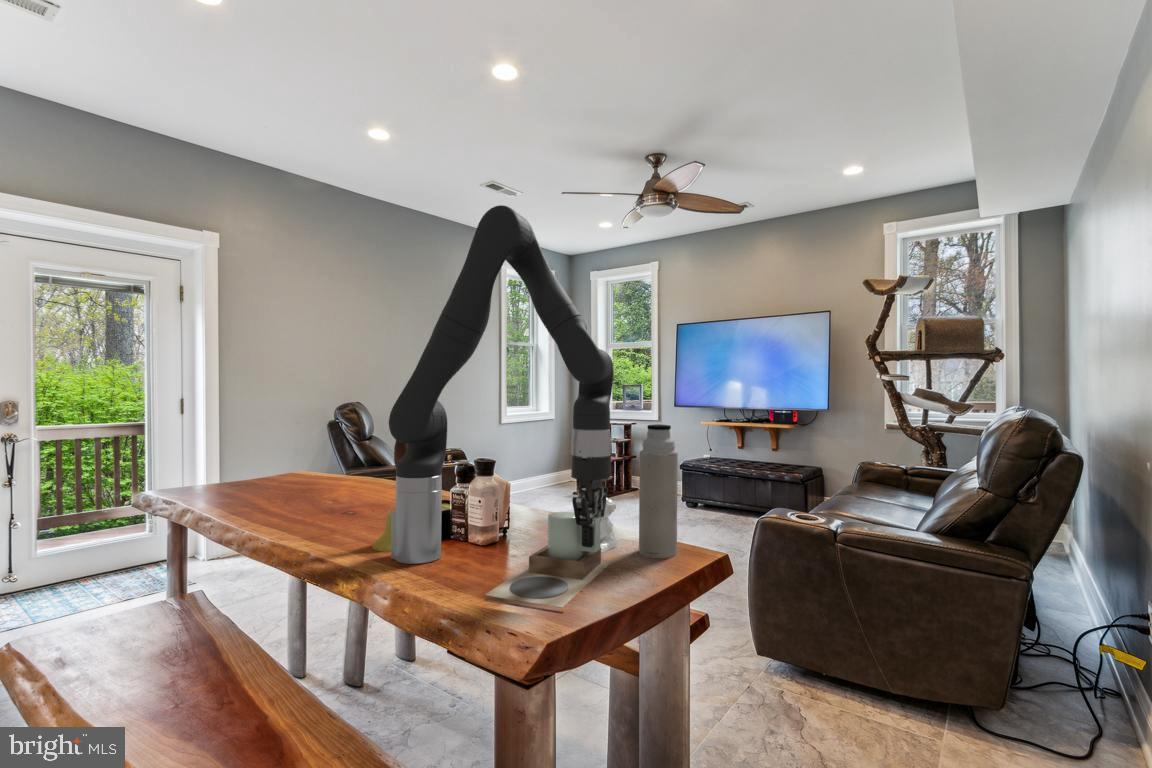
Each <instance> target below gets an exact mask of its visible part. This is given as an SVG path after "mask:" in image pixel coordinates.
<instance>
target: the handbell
mask: <svg viewBox="0 0 1152 768" xmlns="http://www.w3.org/2000/svg"><path fill="white" fill-rule="evenodd" d="M407 447H408V443H402V442H399V441H397V440H396V439H395V444H394V447H393V449H394V451H393V454H394V455H393V461H394V466H395V467H396V464H397V462H398V461H399V460H400V459H401V458H402V457H403V456H404V454H405V453H406V451H407ZM394 511H396V506H395V507H394V508H393V510H391V511H389V512H388V513H387V514H386V515H385V516H386V517H385V529H384V531H383V533H382V535H381V536H380V537H379V538H378V539H377V540H376V541H374V542H373V544H372V549H373V550H374V551H377V550H378V551H379V552H382V551H383V552H384V553H391V514H392V512H394ZM378 551H377V552H378Z"/></svg>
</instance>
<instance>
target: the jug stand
mask: <svg viewBox="0 0 1152 768" xmlns="http://www.w3.org/2000/svg"><path fill="white" fill-rule="evenodd" d="M609 565H610V563H604V562H602V553H601V548H600V550H598V551H597V552H588V551H584V557H583V558H582V559H581V560H579V561H575V560H567V559H559V558H551V557H548V544H547V545H545V546H544V547H542V548H541V549H539V550H537V551H536V552H534V553H532V554H530V555H529V556H528V566H526V567H525V568H523V569H522V570H521V571H519V572H517V573H515V574H514V575H513V576H511V577H510V578H508V579H507V580H506V581H504V582H502V583H500V584H499V585H497V586H496V587H494V588H493V589H491V590H490V591H488V592H487V593H485V594H484V596H487V597H494V598H500V599H505V600H511V601H519V602H524V603H529V604H537V605H543V606H548V607H549V606H550V607H555V608H564V607H565V606H566V605H567V604H568V603H569V602H570V601H571V600H572V599H573V598H574V597H575V596H577V594H579V593H580V592H581V591H582V590H583V589H584V588H586V586H588V585H589V583H590V582H592V581H593V580H594V579H595V578H596V577H597V576H598V575H599V574H600V573H602V572H603V571H604V570H605V569H606V568H607V567H608V566H609ZM483 601H484V602H488V603H495V604H502V605H507V606H514V607H520V608H526V609H530V610H531V609H532V610H537V611H542V612H543V611H544V612H548V613H555V614H560V615H562V614H563V613H564V611H560V610H552V609H548V608H540V607H534V606H529V605H523V604H517V603H510V602H506V601H505V602H503V601H500V600H493V599H492V600H491V599H484V600H483Z"/></svg>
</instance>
